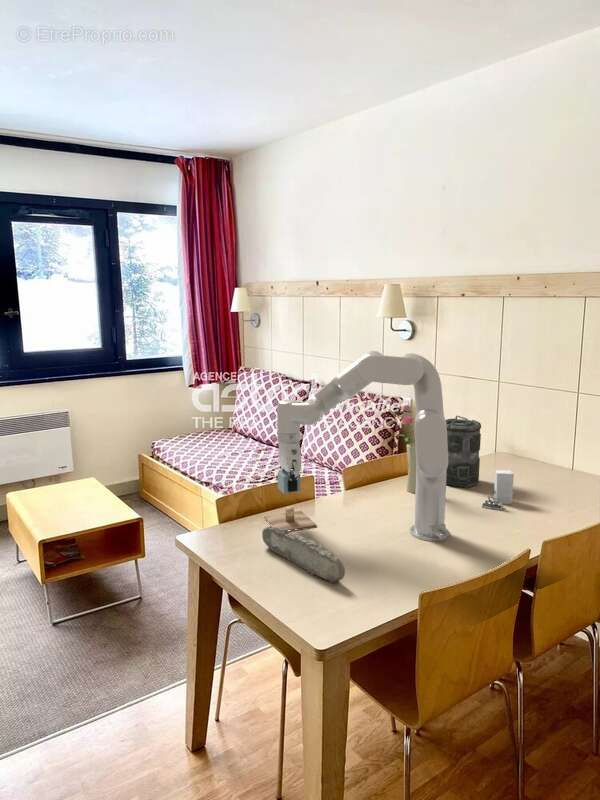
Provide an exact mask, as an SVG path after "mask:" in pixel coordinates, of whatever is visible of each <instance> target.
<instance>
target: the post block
mask: <svg viewBox="0 0 600 800" xmlns="http://www.w3.org/2000/svg"><path fill="white" fill-rule="evenodd" d="M284 512H285V513H279V514H273V515H272V514H271V515H265V516H264V517H263V518H265V519H266V520H267V521H268V522H269V523H270V524H271V525H272V526H274V527H278V528H281V529H283V530H287V531H288V530H295V529H301V530H304V529H303V528H307V529H311V527H313V528H317V526H318V525H317V524H316V523H315V522H314V521H313V520H312V519H311V518H310V517H309V516H308V515H306V514H305V513H304V512H303V511H302V510H298V511H295V507H293V506H286V507H285V511H284ZM265 519H264V520H265ZM266 520H265V521H266ZM267 521H266V522H267ZM268 522H267V523H268ZM269 523H268V524H269ZM270 524H269V525H270ZM271 525H270V526H271ZM295 531H296V530H295Z"/></svg>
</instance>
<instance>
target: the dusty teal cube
mask: <svg viewBox="0 0 600 800" xmlns="http://www.w3.org/2000/svg"><path fill="white" fill-rule="evenodd" d="M290 471H294V470H293V469H290ZM292 474H294V473H291V476H292ZM301 475H302V474H300V473H299V475H298V480H297V491H294V492H289V491H288V480H289V476H288V472H287V471H281V470H280V471H279V470H278V471H277V489H278V490H279V491H280V492H281V493H282V494H285V495H286V494H293V493H300V492H301V491H302V489H301V488H302V487H301V480H302V479H301Z"/></svg>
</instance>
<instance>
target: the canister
mask: <svg viewBox="0 0 600 800" xmlns="http://www.w3.org/2000/svg"><path fill="white" fill-rule="evenodd" d="M445 421H446V427H447V444H448V467H447V470H446V486H452V487H459V488H460V487H461V488H466V489H467V488H473V487H475V486H476V485H478V483H479V481H480V465H481V463H480V460H481V458H480V450H481V439H482V438H481V436H482V434H481V429H482V424H481V422H480V421H477V420H475V419H472V420H471V419H468V418H467V417H464V416H461V415H458V414H456V415H455V418H448V419H445Z"/></svg>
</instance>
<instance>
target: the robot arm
mask: <svg viewBox="0 0 600 800" xmlns="http://www.w3.org/2000/svg"><path fill="white" fill-rule="evenodd" d="M371 383H379V384H389V385H397V386H398V385H400V386H413V390H414V403H415V408H416V409H415V418H414V425H415V428H414V429H415V430H414V431H415V432H414V440H415V441H414V442H415V443H414V444H415V446H416V493H415V499H414V500H415V501H414V503H415V505H414V524H413V525H412V526H410V528H409V534H410V535H411V536H412V537H414V538H415V539H418V540H421V541H426V542H440V541H444V540H447V539H448V538H449V537H450V532H449V529H448V528H447V527H446V524H445V521H446V520H445V519H446V516H445V515H446V495H447V494H446V492H447V485H446V470H447V467H448V444H447V427H446V421H445V420H446V418H445V413H444V412H445V411H444V400H443V399H444V397H443V388H442V382H441V377H440V374H439V371H438V370H437V368H436V367H435V366H434V364H433V363H432V362H431V361H430V360H429V359H427V358H426V357H424V356H423V355H422V356H421V355H420V354H416V353H414V352H413V353H409V352H408V353H405V354H404V355H402V356H393V355H384V354H382V353H381V352H379V351H377V350H376V351H375V350H371V351H367V352H366V353H365V354H363V355H361V356H360V357H359V358H358V359H357V360H356V361H354V362H353V363H351V364H350V365H349V366H348V367H346V368H345V369H344V370H343V371H341V372H340V373H338V374H336V376H335V377H333V378H332V380H331V381H330V382H328V383H327V384H326V385H325V386H324V387H322V388H321V389H319V390H318V391H317V392H315V393H314V394H313V395H312V396H310V397H309V398H308V399H307V400H305V401H304V402H299V401H297V400H296V399H295V400H294V399H282V400H279V401H278V402H277V405H276V413H277V415H276V416H277V421H276V424H277V428H276V429H277V431H276V432H277V442H278V464H279V467H280V471H287V472H288V476H289V480H288V491H289V492H293V493H295V492H294V491H297V480H298V475H299V474H300V472H301V471H302V454H301V446H300V441H301V427H300V426H301V424H302V425H305V426H313V425H315V424H317V423H318V422H319V421H320V420H321V418H322V417H323V416H324V415H326V414H327V413H328V412H330V411H331V410H332V409H334V408H335V407H336V406H337V405H339V404H340V403H342V402H345V400H350V399H351V398H353V397H354V396H356V395H357V394H359V392H362V390H364V389H365V388H366V387H368V385H370V384H371ZM290 470H294V471H290ZM291 473H294V474H292V476H291Z"/></svg>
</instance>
